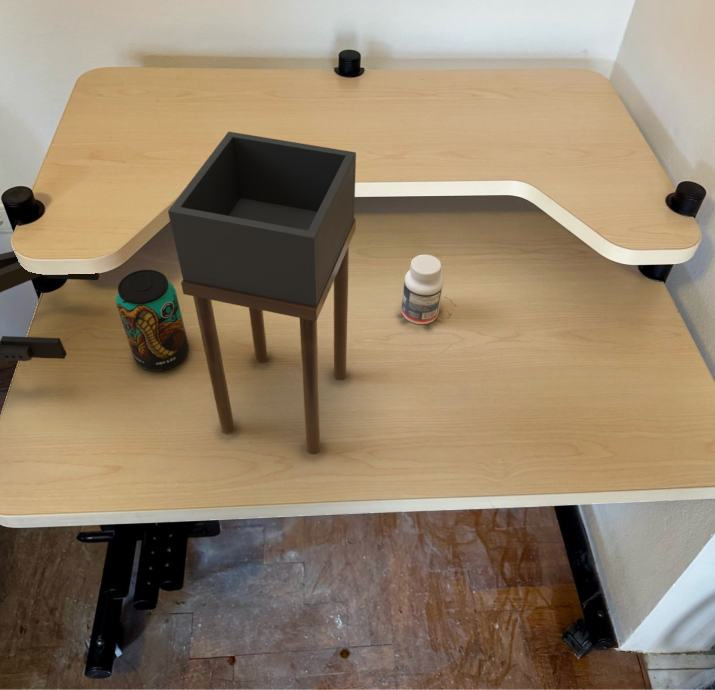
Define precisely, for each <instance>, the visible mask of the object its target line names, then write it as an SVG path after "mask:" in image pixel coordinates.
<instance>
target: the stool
mask: <svg viewBox="0 0 715 690" xmlns="http://www.w3.org/2000/svg"><path fill="white" fill-rule="evenodd" d="M356 223H357V218H355V217H354V221H353V223H352V226H351V228H350V230H349V233H348V235H347V237H346V240H345V242H344V244H343V246H342V249H341V251H340V253H339V256H338V258H337V260H336V262H335V265H334V267H333V269H332V272H331V274H330V276H329V279H328V281H327V283H326V285H325V288H324V290H323V292H322V295H321V297H320V299H319V302H318V304H317V306H316V307H313V306H308V305H303V304H298V303H293V302H288V301H283V300H278V299H274V298H269V297H264V296H259V295H254V294H249V293H244V292H239V291H234V290H229V289H224V288H219V287H214V286H209V285H204V284H199V283H194V282H189V281H184V280H183V279H182V280H181V282H180V284H181V289H182V294H183V295H187V296H191V297H193V302H194V306H195V311H196V316H197V321H198V326H199V331H200V336H201V339H202V344H203V345H202V346H203V350H204V354H205V359H206V360H205V361H206V363H207V369H208V373H209V378H210V383H211V388H212V393H213V397H214V402H215V406H216V411H217V416H218V417H217V418H218V421H219V426H220V430H221V432H222V433H223V434H231V433H233V432H234V431H235V427H236V426H235V421H234V416H233V411H232V410H233V409H232V404H231V399H230V394H229V388H228V383H227V378H226V377H227V376H226V373H225V372H226V371H225V367H224V361H223V355H222V350H221V344H220V340H219V334H218V333H219V332H218V329H217V323H216V318H215V313H214V307H213V302H212V301H214V302H220V303H225V304H230V305H235V306H239V307H245V308H248V311H249V313H248V314H249V318H250V328H251V335H252V342H253V350H254V358H255V361H256V362H258V363H265V362H267V361H268V358H269V357H268V355H269V354H268V348H267V346H268V345H267V337H266V328H265V320H264V319H265V318H264V312H268V313H274V314H279V315H283V316H289V317H293V318H297V319H299V333H300V336H299V337H300V350H301V351H300V353H301V356H300V357H301V368H302V369H301V371H302V374H301V375H302V390H303V391H302V392H303V394H302V395H303V407H304V408H303V411H304V429H305V449H306V451H307V452H308V453H309V454H311V455H315V454H317V453H319V451H320V450H321V433H320V432H321V430H320V429H321V428H320V392H319V391H320V390H319V353H318V352H319V350H318V349H319V347H318V319H319V317H320V314H321V313H322V309H323V307H324V306H325V302H326V300H327V298H328V295H329V293H330V291H331V288H332V286H333V378H335V379H336V380H338V381H340V380H341V381H342V380H344V379H346V377H347V354H348V351H347V349H348V312H349V310H348V309H349V308H348V307H349V304H348V303H349V267H350V266H349V265H350V264H349V262H350V261H349V260H350V244H351V242H352V240H353V237H354V235H355V232H356V229H357V228H356Z"/></svg>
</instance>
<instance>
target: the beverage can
mask: <svg viewBox="0 0 715 690" xmlns="http://www.w3.org/2000/svg"><path fill="white" fill-rule="evenodd" d="M117 285H118V286H117V294H116V297H115V306H116V308H117V312H118V315H119V317H120V320H121V324H122V326H123V330H124V332H125V335H126V338H127V341H128V345H129V347H130V350H131V353H132V356H133V359H134V362H135V363H136V364H137V365H139V366H140V367H142V369H143V368H144V369H145V370H150V371H165V370H169V369H172V368H174V367H176V366H177V365H178V364H180V363H181V362H182V361H183V360H184V359H185V357H186V356H187V354H188V352H189V341H188V337H187V332H186V328H185V323H184V320H183V315H182V311H181V307H180V303H179V299H178V294H177V290H176V287H175V286H174V284H173V283H172V282H171V281H169V280H168V278H167V276H166V275H165V274H164V273H162V272H160V271H159V270H154V269H140V270H135V271H132V272H130V273H129V274H127V275H125V276H124V277H123V278H122V279H121V280H120V281H119V283H118V284H117Z"/></svg>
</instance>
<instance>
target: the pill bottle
mask: <svg viewBox="0 0 715 690" xmlns="http://www.w3.org/2000/svg"><path fill="white" fill-rule="evenodd" d="M441 272H442V262H441V261H440V259H439V258H438V257H435V256H434V255H431V254H419V255H416V256H415V257H413V258H412V260H411V262H410V267H409V270H408V271H407V272H406V273H405V275H404V281H403V289H402V299H401V313H402V315H403V317H404V318H405V319H406V320H407V321H408V322H410V323H413V324H418V325H427V324H430V323H432V322H434V321H435V320H437V318H438V316H439V313H440V306H441V298H442V293H443V289H444V288H443V287H444V277H443V275H442V273H441Z"/></svg>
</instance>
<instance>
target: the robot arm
mask: <svg viewBox="0 0 715 690" xmlns="http://www.w3.org/2000/svg"><path fill="white" fill-rule="evenodd" d="M14 251H15V250H12V251H8V252H7V251H6V252H3V253H0V294H1V293H3V292H5V291H7V290H10V289H13V288H15V287H17V286H20V285H23V284H24V283H27V282H29V281H32V280H34V279H37V278H39V277H42V276H43V275H42V274H36V273H32V272H31V273H30V272H28V271H27V270H25V269H24V268H23V267H22V266H21V265H20V263H19V262H18V259H17V257H16V255H15V253H14ZM46 277H47V279H51V280H52V279H53V280H82V281H99V279H100V273H99V272H98V273H95V274H68V275H46ZM66 356H67V352H66V349H65V347H64V344H63V342H62V340H61V338H60V337H41V336H39V337H37V336H12V335H11V336H10V335H2V336H1V338H0V368H4V367H6V366H8V365H9V361H10V362H12V361H13V362H28V361H32V358H33V359H35V358H36V359H62V360H64V359H66Z"/></svg>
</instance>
